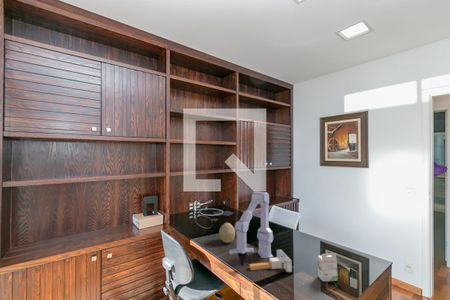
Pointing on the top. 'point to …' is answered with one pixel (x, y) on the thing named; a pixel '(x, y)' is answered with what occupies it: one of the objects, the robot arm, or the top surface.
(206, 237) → the top surface
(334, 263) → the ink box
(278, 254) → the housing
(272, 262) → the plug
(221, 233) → the fossilized egg
